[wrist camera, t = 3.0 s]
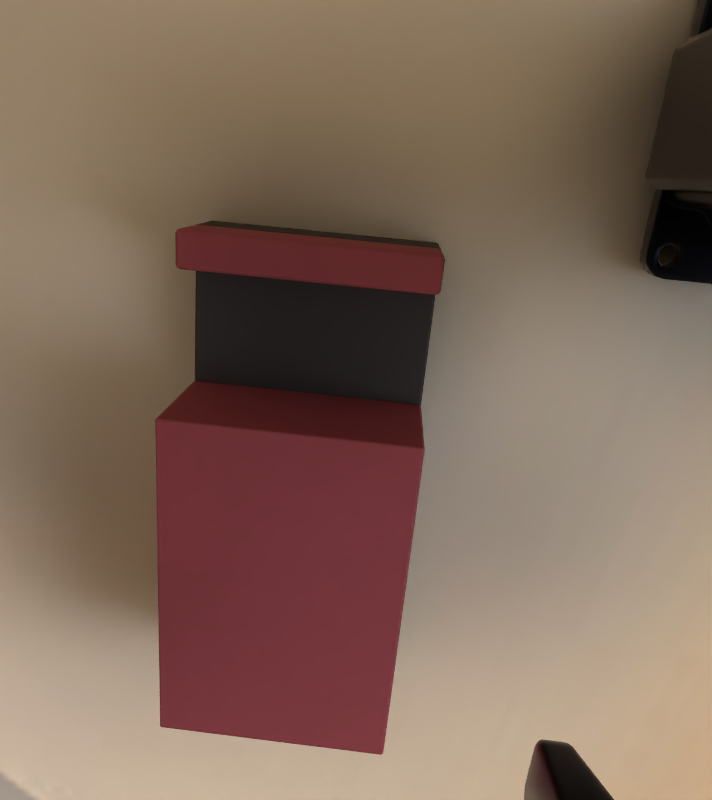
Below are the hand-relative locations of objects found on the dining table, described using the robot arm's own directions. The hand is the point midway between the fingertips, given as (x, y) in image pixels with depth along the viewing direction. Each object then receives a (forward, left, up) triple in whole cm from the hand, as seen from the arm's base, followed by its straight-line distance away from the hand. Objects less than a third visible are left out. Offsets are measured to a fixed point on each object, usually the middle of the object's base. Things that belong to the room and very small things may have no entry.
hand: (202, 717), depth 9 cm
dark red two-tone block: (0, 0, -9) cm, 9 cm away
